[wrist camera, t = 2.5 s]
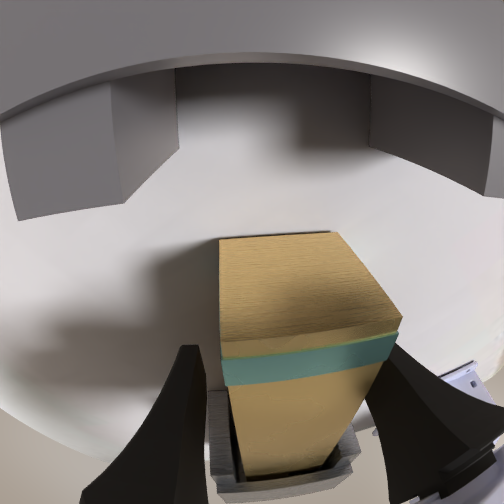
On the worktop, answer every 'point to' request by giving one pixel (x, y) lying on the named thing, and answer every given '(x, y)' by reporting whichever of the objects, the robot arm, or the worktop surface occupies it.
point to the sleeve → (239, 490)
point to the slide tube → (298, 346)
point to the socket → (235, 51)
